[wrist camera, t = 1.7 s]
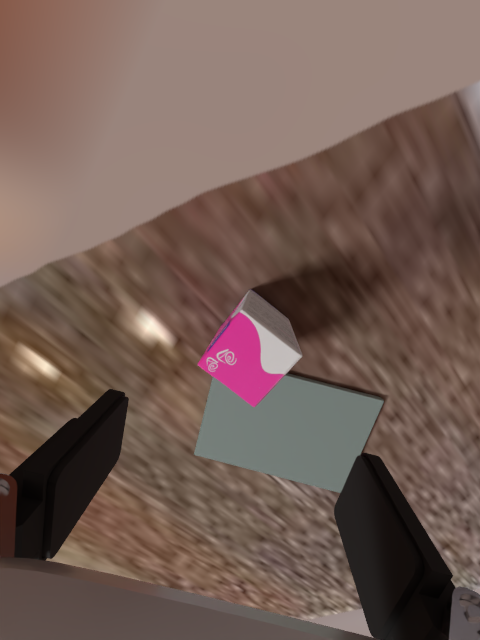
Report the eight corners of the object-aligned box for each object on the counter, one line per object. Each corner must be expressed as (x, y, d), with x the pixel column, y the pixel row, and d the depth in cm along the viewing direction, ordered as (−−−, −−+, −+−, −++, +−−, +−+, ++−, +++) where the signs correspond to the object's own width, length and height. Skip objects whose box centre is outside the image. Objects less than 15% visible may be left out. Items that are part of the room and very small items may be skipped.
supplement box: (249, 286, 29) (243, 306, 18) (289, 319, 30) (308, 357, 19) (218, 325, 31) (195, 366, 20) (257, 356, 31) (257, 412, 20)
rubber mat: (380, 397, 31) (384, 401, 31) (341, 488, 35) (343, 493, 34) (218, 355, 31) (217, 357, 31) (195, 450, 35) (193, 454, 34)
